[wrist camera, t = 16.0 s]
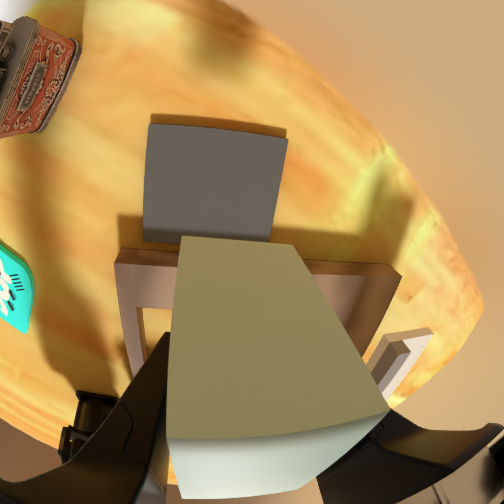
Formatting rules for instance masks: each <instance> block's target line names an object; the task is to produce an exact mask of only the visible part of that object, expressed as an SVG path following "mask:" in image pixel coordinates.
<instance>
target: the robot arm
mask: <svg viewBox="0 0 504 504" xmlns="http://www.w3.org/2000/svg"><path fill="white" fill-rule="evenodd" d="M170 333H171V332H165V333H164V334H163V335H162V337H161V338H160V340H159V341H158V343H157V344H156V346H155V347H154V349H153V350H152V351H151V353H150V354H149V356H148V357H147V359H146V360H145V362H144V363H143V365H142V366H141V368H140V369H139V371H138V372H137V374H136V375H135V377H134V378H133V380H132V381H131V383H130V384H129V386H128V387H127V389H126V390H125V392H124V393H123V395H122V396H121V398H120V400H118V398H116V397H110V396H103V395H97V394H92V393H86V392H81V391H76V396H77V398H78V400H79V402H78V407H77V411H76V415H75V420H74V425H73V427H72V426H71V425H69V426H68V427H63V429H62V433H61V438H60V443H59V448H58V454H59V455H60V457H61V460H62V465H61V466H59V467H56V468H54V469H52V470H49V471H47V472H45V473H42V474H40V475H37V476H35V477H32V478H29V479H27V480H24V481H20V482H10V481H6V480H4V479H2V478H0V504H166V492H167V478H168V466H169V455H170V452H169V447H168V443H167V438H166V410H167V380H168V361H169V346H170ZM389 408H390V407H389ZM503 429H504V426H503V425H500V424H497V423H488V424H486V425H485V426H484V427H483V428H481V429H478V430H470V431H446V430H445V431H444V430H429V429H425V428H422V427H419V426H417V425H416V424H414V423H412V422H411V421H409V420H408V419H406V418H405V417H403V416H402V415H400V414H399V413H397V412H395V411H394V410H392V409H391V408H390V411H389V412H388V413H387V414H386V415H385V416H384V417H383V418H382V419H381V421H380V422H379V423H378V424H377V425H376V426H375V427H374V428H373V429H371V430H370V431H369V432H368V433H367V434H366V435H365V436H364V437H363V438H362V439H361V440H360V441H359V442H358V443H357V444H355V445H354V446H353V447H352V448H351V449H350V450H349V451H347V452H346V453H345V454H344V455H343V456H342V457H340V458H339V459H338V460H337V461H335V462H334V463H333V464H332V465H330V466H329V467H328V468H327V469H325V470H324V471H323V472H321V473H320V474H319V475H317V476H316V478H317V482H318V486H319V489H320V492H321V495H322V499H323V503H324V504H504V435H503V436H502V437H500V438H499V439H498V440H497V441H496V442H494V443H493V444H492V445H491V446H490V447H487V444H488V443H490V442H491V441H492V440H493V439H494V438H495V437H496V436H497V435H498V434H499V433H500V432H501V431H502V430H503ZM70 440H71V441H70Z"/></svg>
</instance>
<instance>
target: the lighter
mask: <svg viewBox="0 0 504 504" xmlns="http://www.w3.org/2000/svg"><path fill="white" fill-rule="evenodd" d="M81 52H82V46H81V44H80V42H78V41H77V40H75V39H73V38H68V37H64V36H62V35H60V34H58V33H56V32H54V31H51V30H49V29H47V28H45V27H43V26H41V25H39V23H38V21H37V20H35V19H32V18H30V17H28V16H25V17H21V18H18V19H16V20H15V21H14V22H13V23H11V24H10V23H7V22H4V21H1V20H0V138H5V137H9V136H13V135H18V134H23V133H29V134H34V133H39V132H42V131H43V130H45V128H46V127H47V126H48V124H49V122H50V120H51V118H52V117H53V115H54V113H55V111H56V110H57V108H58V106H59V104H60V102H61V100H62V98H63V96H64V94H65V92H66V90H67V87H68V85H69V83H70V80H71V78H72V76H73V74H74V71H75V68H76V66H77V63H78V60H79V58H80V55H81Z"/></svg>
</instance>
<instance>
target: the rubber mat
mask: <svg viewBox="0 0 504 504" xmlns="http://www.w3.org/2000/svg"><path fill="white" fill-rule="evenodd" d="M287 145H288V139H285V138H279V137H274V136H268V135H262V134H255V133H249V132H242V131H234V130H226V129H217V128H208V127H197V126H184V125H168V124H149V129H148V139H147V150H146V162H145V177H144V200H143V242H156V243H172V244H181V238H182V236H194V237H207V238H219V239H232V240H244V241H255V242H267V243H269V238H270V233H271V228H272V223H273V218H274V213H275V207H276V202H277V197H278V192H279V187H280V182H281V177H282V171H283V166H284V161H285V155H286V150H287Z"/></svg>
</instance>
